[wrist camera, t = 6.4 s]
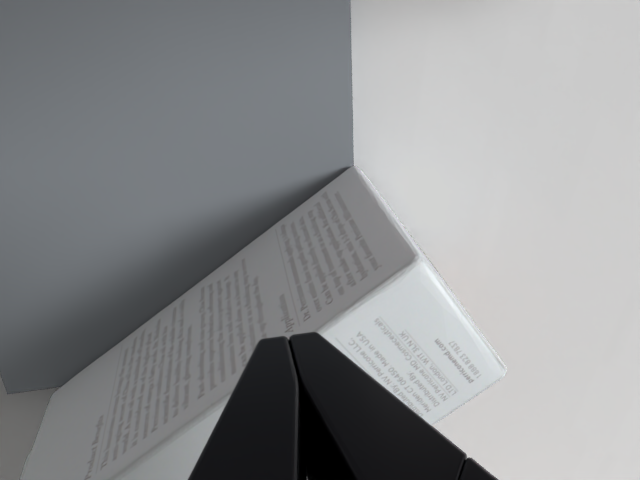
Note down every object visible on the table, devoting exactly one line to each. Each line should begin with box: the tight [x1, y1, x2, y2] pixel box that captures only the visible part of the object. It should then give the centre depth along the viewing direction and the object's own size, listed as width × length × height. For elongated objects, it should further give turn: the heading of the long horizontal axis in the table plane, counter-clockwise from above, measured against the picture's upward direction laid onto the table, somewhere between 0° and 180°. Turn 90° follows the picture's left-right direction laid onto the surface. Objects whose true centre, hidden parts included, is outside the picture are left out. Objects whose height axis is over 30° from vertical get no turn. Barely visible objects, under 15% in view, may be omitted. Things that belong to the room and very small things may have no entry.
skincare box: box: [20, 166, 507, 480], centre depth 16 cm, size 6×4×12 cm
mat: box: [0, 0, 354, 394], centre depth 17 cm, size 11×13×1 cm
